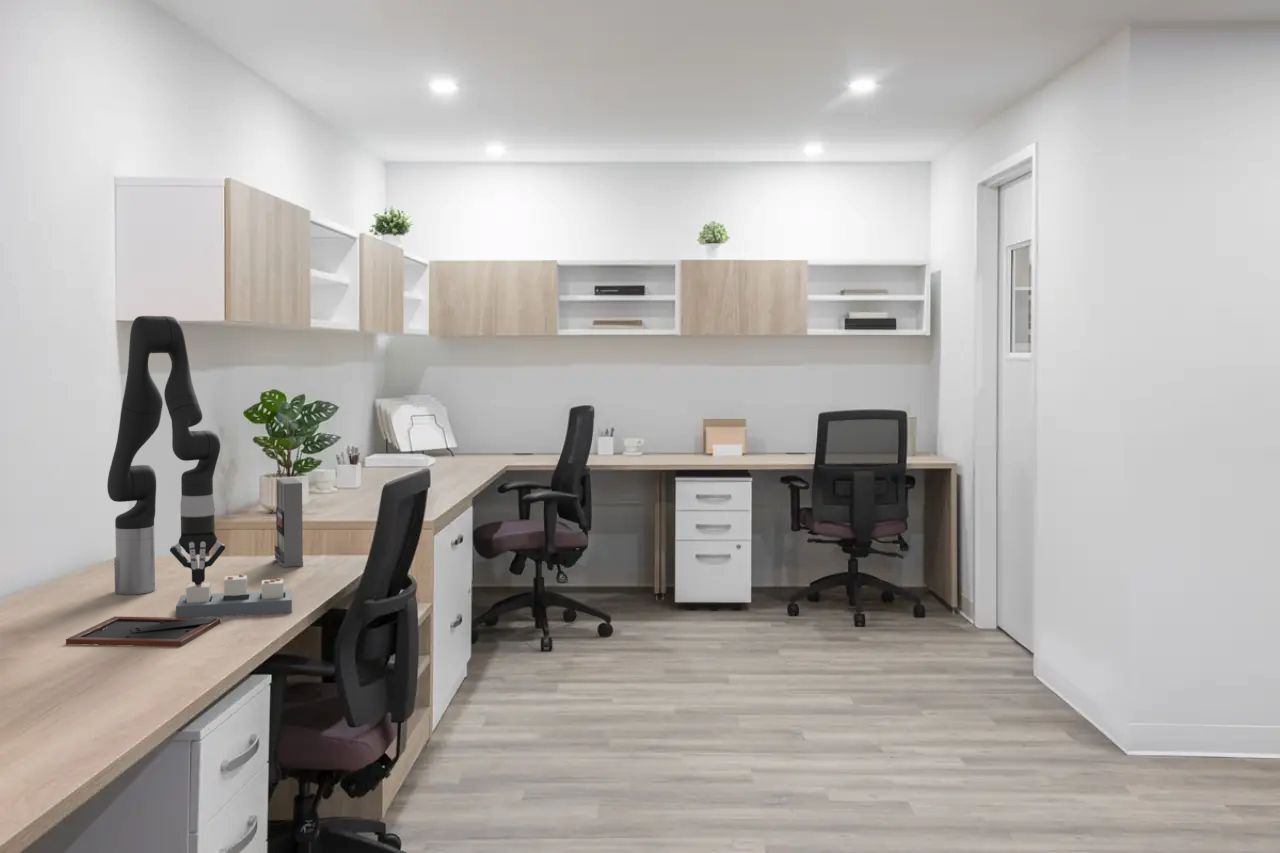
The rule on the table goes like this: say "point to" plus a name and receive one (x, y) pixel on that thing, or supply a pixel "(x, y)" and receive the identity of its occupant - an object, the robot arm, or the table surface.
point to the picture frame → (145, 631)
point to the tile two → (235, 585)
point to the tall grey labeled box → (289, 523)
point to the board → (234, 605)
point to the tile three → (272, 588)
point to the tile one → (198, 593)
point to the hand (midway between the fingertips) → (198, 583)
